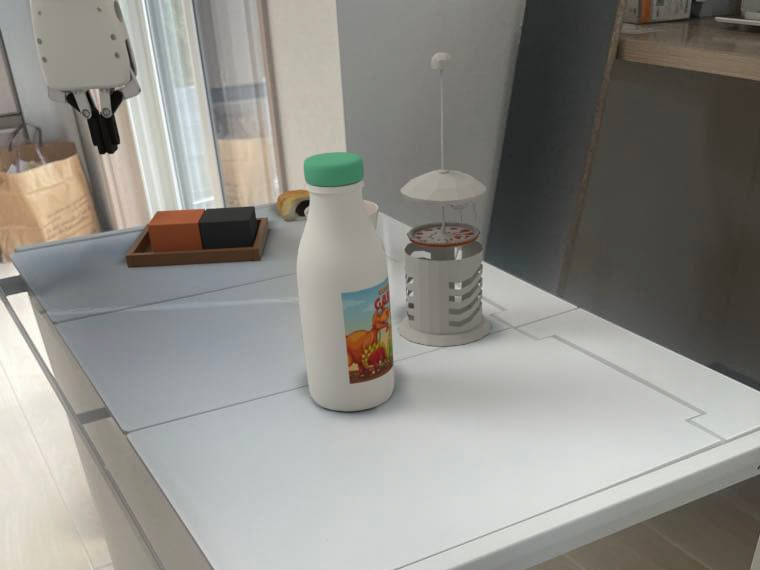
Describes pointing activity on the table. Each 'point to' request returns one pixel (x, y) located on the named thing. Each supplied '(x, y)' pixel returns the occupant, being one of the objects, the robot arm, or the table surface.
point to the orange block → (176, 230)
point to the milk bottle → (343, 290)
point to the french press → (444, 257)
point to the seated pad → (228, 227)
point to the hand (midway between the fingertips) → (108, 151)
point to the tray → (195, 252)
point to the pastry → (293, 204)
